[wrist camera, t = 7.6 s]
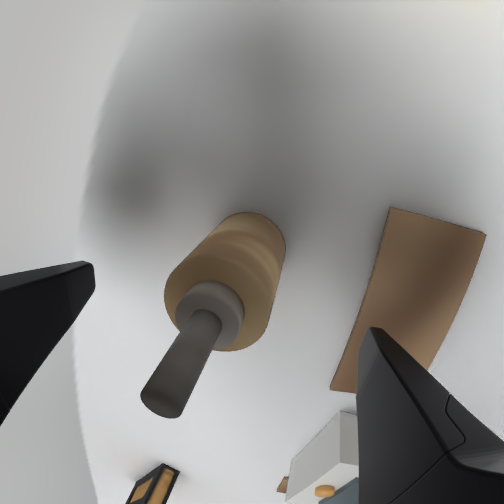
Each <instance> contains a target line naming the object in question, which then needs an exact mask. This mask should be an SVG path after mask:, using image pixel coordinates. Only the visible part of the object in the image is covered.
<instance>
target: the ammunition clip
mask: <svg viewBox="0 0 504 504" xmlns="http://www.w3.org/2000/svg"><path fill="white" fill-rule="evenodd" d="M179 473H180V472H178V471H176V470H174V469H172V468H170V467H168V466H166V465H165V464H163V463H162V464H161V465H160V466H158V467H157V468H156V469H154V470H153V471H151V472H150V473H149V474H147V475H146V476H144V477H143V478H141V479H140V480H139V481H137V482H136V484H135V486H134V488H133V490H132V492H131V494H130V496H129V498H128V500H127V502H126V504H166V502H167V500H168V498H169V496H170V493H171V491H172V489H173V486H174V484H175V482H176V480H177V477H178V475H179Z"/></svg>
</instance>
